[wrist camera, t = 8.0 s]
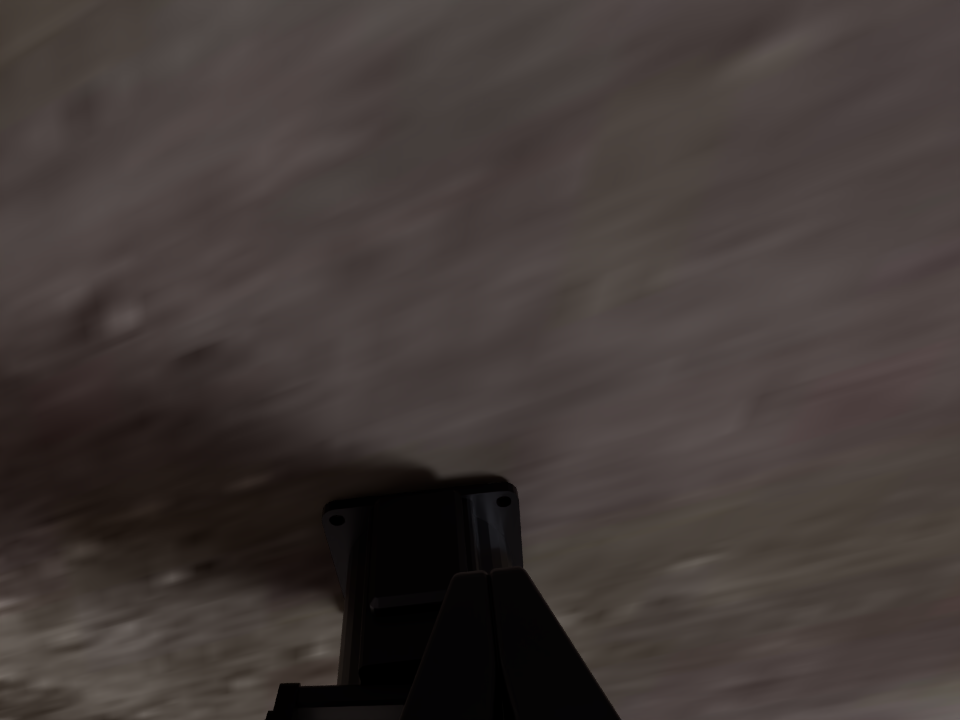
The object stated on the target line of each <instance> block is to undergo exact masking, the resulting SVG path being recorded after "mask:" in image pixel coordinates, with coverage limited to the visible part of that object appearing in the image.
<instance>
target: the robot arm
mask: <svg viewBox="0 0 960 720" xmlns="http://www.w3.org/2000/svg"><path fill="white" fill-rule="evenodd" d="M502 496H507V498H503V499H501V498H499V497H502ZM334 515H341V517H336V516H334ZM322 524H323V527H324V531H325V534H326V538H327V541H328V545H329V548H330V551H331V555H332V558H333V562H334V565H335V569H336V572H337V576H338V579H339V582H340V586H341V589H342V593H343V596H344V600H345V602H344V613H343V624H342V635H341V646H340V657H339V668H338V679H337V685H329V686H301V684H300V683H281V684H280V686H279V689H278V693H277V697H276V701H275V705H274V709H273V711H268V713H267V716H266V719H265V720H621V719H620V717H619V715H618V714H617V712H616V711H615V709H614V708H613V706H612V704H611V703H610V701H609V700H608V698H607V697H606V695H605V694H604V692H603V690H602V689H601V687H600V686H599V684H598V683H597V681H596V679H595V678H594V676H593V675H592V673H591V672H590V670H589V669H588V667H587V665H586V664H585V662H584V661H583V659H582V658H581V656H580V654H579V653H578V651H577V650H576V648H575V647H574V645H573V644H572V642H571V640H570V639H569V637H568V636H567V634H566V633H565V631H564V629H563V628H562V626H561V625H560V623H559V622H558V620H557V619H556V617H555V615H554V614H553V612H552V611H551V609H550V608H549V606H548V604H547V603H546V601H545V600H544V598H543V597H542V595H541V593H540V592H539V590H538V589H537V587H536V586H535V584H534V583H533V581H532V579H531V578H530V576H529V575H528V573H527V572H526V571H525V570H524V569H523V556H522V541H521V526H520V511H519V498H518V492H517V489H516V487H515V486H514V485H513V484H510V483H508V482H500V483H490V484H481V485H472V486H463V487H454V488H445V489H436V490H427V491H418V492H409V493H400V494H391V495H382V496H373V497H364V498H355V499H346V500H337V501H332V502H329V503H328V504H326V505H325V507H324V508H323V514H322Z"/></svg>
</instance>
